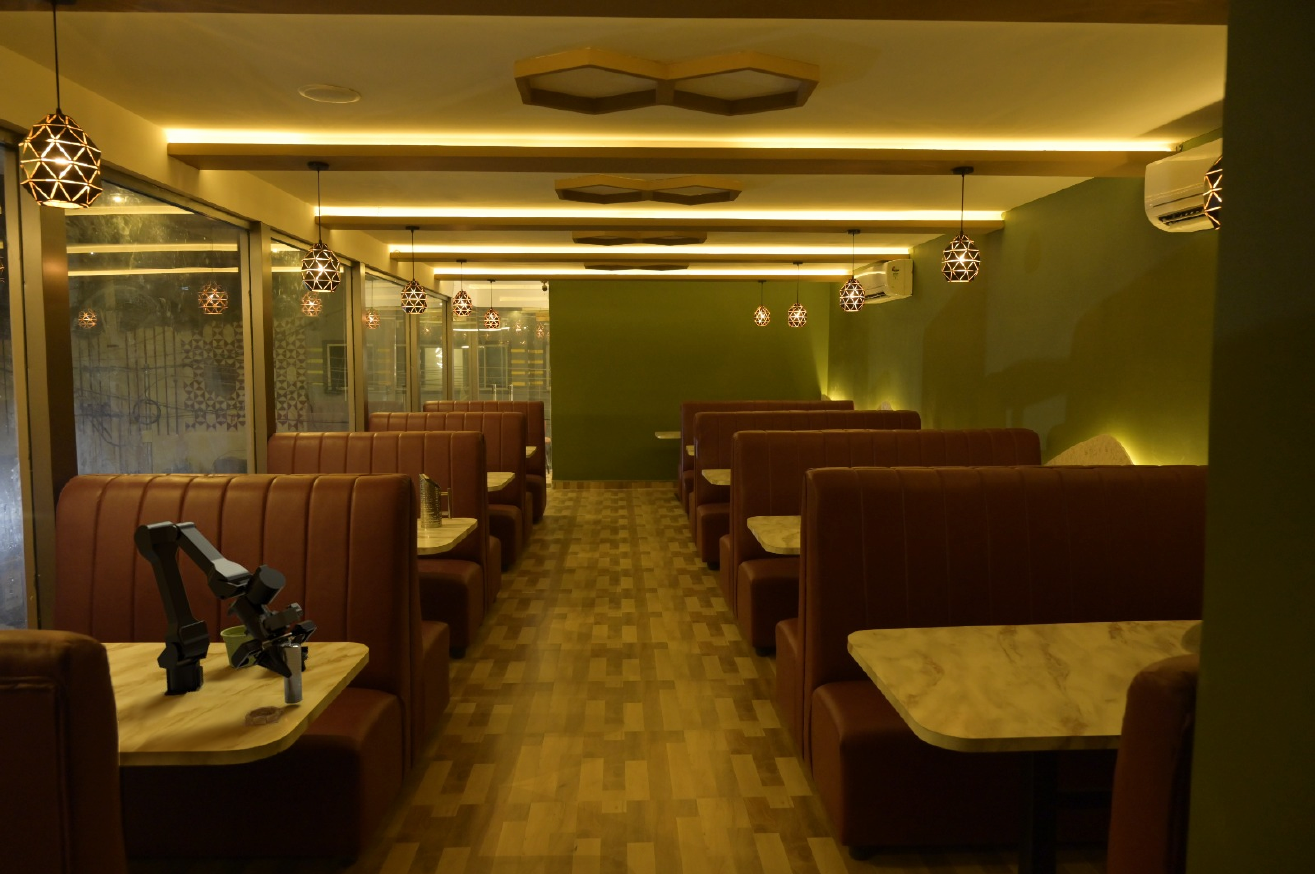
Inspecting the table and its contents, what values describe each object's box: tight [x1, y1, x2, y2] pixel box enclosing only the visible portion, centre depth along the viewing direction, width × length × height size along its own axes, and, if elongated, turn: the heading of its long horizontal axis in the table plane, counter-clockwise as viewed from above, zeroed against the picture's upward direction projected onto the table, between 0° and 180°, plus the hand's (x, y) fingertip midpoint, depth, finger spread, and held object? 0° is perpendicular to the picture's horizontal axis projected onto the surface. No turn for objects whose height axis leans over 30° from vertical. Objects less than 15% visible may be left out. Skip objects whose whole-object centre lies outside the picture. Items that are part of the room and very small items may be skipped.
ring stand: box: [241, 705, 285, 727], centre depth 171 cm, size 7×6×2 cm
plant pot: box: [220, 625, 255, 669], centre depth 206 cm, size 9×9×9 cm
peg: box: [283, 643, 303, 705], centre depth 177 cm, size 4×4×12 cm
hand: (297, 673), depth 176 cm, fingers closed on peg, 3 cm apart
